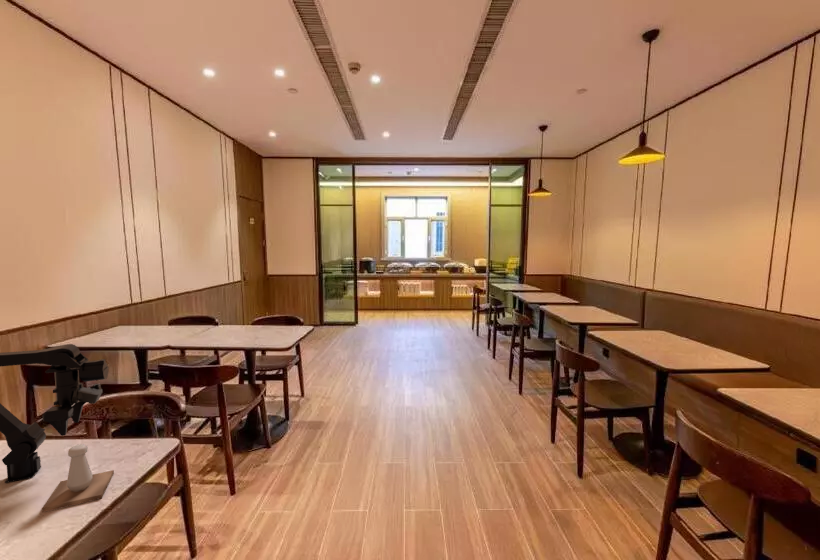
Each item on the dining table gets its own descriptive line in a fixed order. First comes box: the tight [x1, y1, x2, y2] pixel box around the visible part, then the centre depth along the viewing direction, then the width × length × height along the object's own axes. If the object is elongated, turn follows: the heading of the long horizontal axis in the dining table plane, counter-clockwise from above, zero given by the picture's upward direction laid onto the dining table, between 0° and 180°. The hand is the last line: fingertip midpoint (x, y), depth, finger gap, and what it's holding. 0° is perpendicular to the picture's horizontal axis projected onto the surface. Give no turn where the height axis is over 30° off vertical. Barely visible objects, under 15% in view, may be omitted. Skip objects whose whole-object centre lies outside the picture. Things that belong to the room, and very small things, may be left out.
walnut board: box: [41, 469, 115, 513], centre depth 109 cm, size 13×13×1 cm
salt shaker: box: [66, 443, 93, 492], centre depth 109 cm, size 6×6×13 cm
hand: (70, 428), depth 121 cm, fingers open, 9 cm apart
